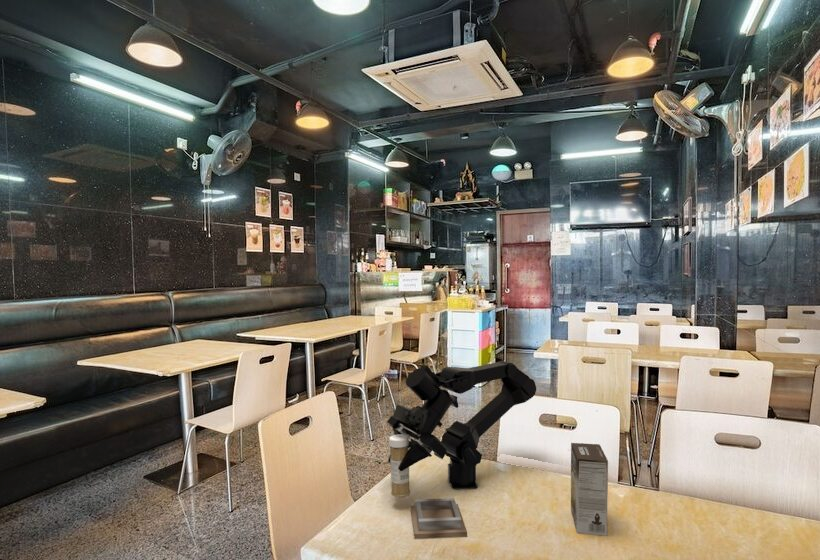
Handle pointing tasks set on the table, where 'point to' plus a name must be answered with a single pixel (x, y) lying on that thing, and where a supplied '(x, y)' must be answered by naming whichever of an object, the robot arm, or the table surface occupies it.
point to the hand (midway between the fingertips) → (394, 466)
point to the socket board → (437, 519)
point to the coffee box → (589, 488)
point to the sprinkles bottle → (398, 477)
